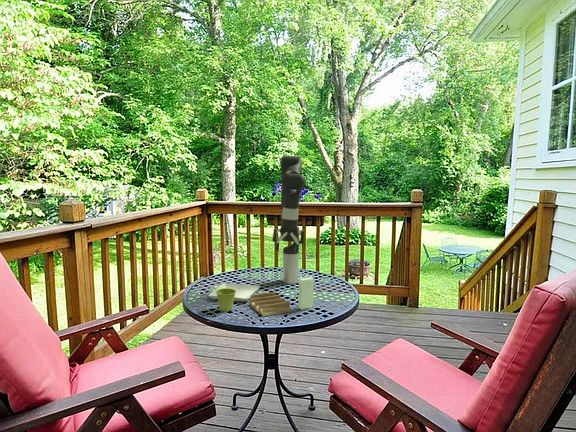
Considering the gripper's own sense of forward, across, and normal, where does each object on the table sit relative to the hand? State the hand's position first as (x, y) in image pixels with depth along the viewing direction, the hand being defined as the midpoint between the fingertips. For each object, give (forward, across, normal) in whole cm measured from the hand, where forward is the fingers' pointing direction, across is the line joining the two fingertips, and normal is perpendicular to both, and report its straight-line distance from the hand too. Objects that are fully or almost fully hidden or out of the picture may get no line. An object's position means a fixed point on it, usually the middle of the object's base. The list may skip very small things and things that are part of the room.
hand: (286, 251), depth 176 cm
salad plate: (+31, +24, -16) cm, 42 cm away
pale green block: (+26, -11, +2) cm, 29 cm away
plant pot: (+29, +26, +4) cm, 39 cm away
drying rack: (+28, +6, +2) cm, 28 cm away
